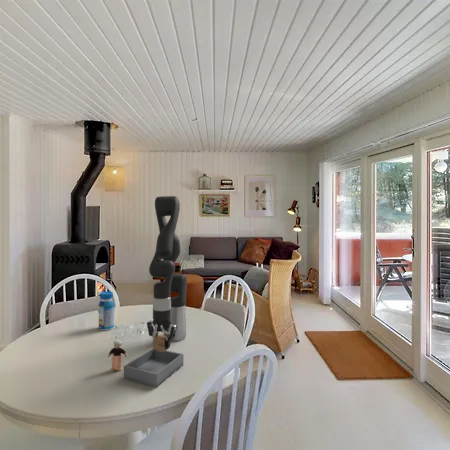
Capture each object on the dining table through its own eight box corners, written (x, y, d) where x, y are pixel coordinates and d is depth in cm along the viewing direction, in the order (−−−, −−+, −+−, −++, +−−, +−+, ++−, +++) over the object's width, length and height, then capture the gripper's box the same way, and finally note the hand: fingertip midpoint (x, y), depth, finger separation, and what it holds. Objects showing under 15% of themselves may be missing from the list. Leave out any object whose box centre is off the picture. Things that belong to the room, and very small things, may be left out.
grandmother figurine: (107, 372, 137) (107, 342, 136) (107, 368, 141) (107, 338, 140) (127, 370, 139) (127, 340, 138) (127, 366, 143) (127, 337, 142)
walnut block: (159, 345, 146) (160, 334, 146) (169, 347, 144) (169, 336, 144) (153, 350, 141) (153, 338, 141) (163, 352, 139) (163, 340, 139)
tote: (153, 358, 150) (153, 347, 150) (183, 365, 144) (183, 354, 144) (123, 378, 132) (123, 366, 132) (156, 387, 126) (156, 374, 126)
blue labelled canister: (111, 331, 182) (111, 294, 181) (95, 330, 183) (95, 294, 182) (116, 325, 191) (116, 290, 190) (101, 325, 191) (101, 290, 190)
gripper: (181, 307, 142) (180, 347, 143) (153, 303, 148) (152, 341, 149) (171, 312, 135) (171, 353, 136) (142, 307, 141) (142, 347, 142)
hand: (161, 347), depth 142 cm, fingers closed on walnut block, 5 cm apart
